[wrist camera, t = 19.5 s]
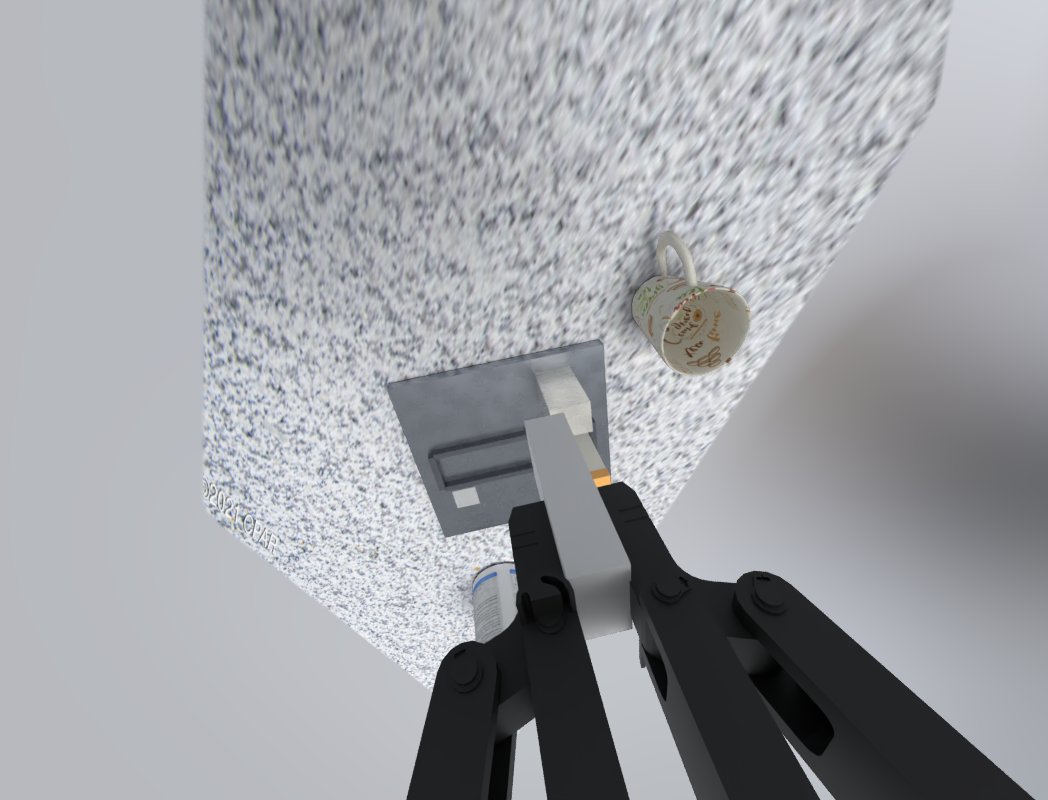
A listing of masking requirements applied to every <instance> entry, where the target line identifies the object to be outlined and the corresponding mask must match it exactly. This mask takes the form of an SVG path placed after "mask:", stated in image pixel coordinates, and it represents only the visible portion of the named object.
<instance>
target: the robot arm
mask: <svg viewBox="0 0 1048 800" xmlns="http://www.w3.org/2000/svg"><path fill="white" fill-rule="evenodd" d="M524 424H525V429H526V434H527V440H528V445H529V450H530V455H531V460H532V465H533V471H534V476H535V480H536V484H537V488H538V491H539V495H540V499H541V501H539V502H534V503H530V504H525V505H521V506H517V507H513V508H512V511H511V515H510V518H509V521H508V524H509V531H510V537H511V544H512V550H513V558H514V564H515V571H516V578H517V584H518V591H517V593H516V608H517V611H518V612H517V614H516V616H515V618H514V620H513V622H512V623H511V624H510V625H509V627H508V628H506V629H505V630H504V631H503V632H501V633H500V634H499V635H497V636H495V637H494V638H492V639H491V640H489V641H488V642H486V643H484V644H483V643H480V642H476V641H469V642H464V643H461V644H459V645H457V646H456V647H454V648H453V649H451V650H450V651H449V653H448V654H447V655H446V656H445V657H444V659H443V660H442V662H441V665H440V667H439V670H438V672H437V676H436V680H435V684H434V688H433V692H432V696H431V700H430V705H429V709H428V713H427V717H426V721H425V725H424V729H423V733H422V737H421V742H420V746H419V750H418V754H417V758H416V762H415V766H414V770H413V775H412V779H411V783H410V787H409V791H408V795H407V800H511V798H512V785H513V774H514V761H515V749H516V737H517V730H519V729H520V728H521V727H523V726H524V725H525V724H527V723H528V722H529V721H531V720H532V719H533V718H535V719H536V726H537V732H538V739H539V746H540V753H541V760H542V766H543V774H544V780H545V786H546V793H547V800H629V796H628V792H627V789H626V785H625V782H624V778H623V774H622V771H621V767H620V764H619V760H618V756H617V753H616V749H615V746H614V742H613V738H612V735H611V731H610V728H609V724H608V720H607V717H606V713H605V710H604V707H603V702H602V699H601V695H600V692H599V688H598V684H597V681H596V677H595V674H594V670H593V666H592V663H591V659H590V656H589V652H588V649H587V645H586V641H585V640H589V639H593V638H597V637H601V636H605V635H609V634H613V633H617V632H621V631H625V630H629V629H632V620H633V623H634V625H635V628H636V630H637V633H638V635H639V657H640V664H641V668H644V667H645V664H646V667H647V670H648V672H649V675H650V678H651V680H652V683H653V685H654V688H655V691H656V693H657V696H658V699H659V701H660V704H661V706H662V709H663V712H664V714H665V717H666V719H667V722H668V725H669V727H670V730H671V732H672V735H673V738H674V740H675V743H676V746H677V748H678V751H679V754H680V756H681V758H682V761H683V764H684V767H685V769H686V772H687V774H688V777H689V780H690V782H691V785H692V788H693V790H694V793H695V795H696V798H697V800H820V798H819V797H818V795H817V793H816V792H815V790H814V788H813V786H812V785H811V783H810V781H809V779H808V778H807V776H806V774H805V772H804V771H803V769H802V767H801V766H800V764H799V762H798V760H797V759H796V757H795V755H794V753H793V752H792V750H791V748H790V747H789V745H788V743H787V741H786V740H785V738H786V739H787V740H788V741H789V742H790V744H791V745H792V746H793V747H794V749H795V750H796V751H797V752H798V754H799V755H800V756H801V757H802V758H803V760H804V761H805V762H806V763H807V765H808V766H809V767H810V768H811V770H812V771H813V772H814V773H815V775H816V776H817V777H818V778H819V780H820V781H821V782H822V783H823V785H824V786H825V787H826V788H827V790H828V791H829V792H830V793H831V794H832V796H833V797H834V798H835V800H1035V799H1033V798H1032V797H1031V796H1030V795H1029V794H1028V793H1027V792H1026V791H1024V790H1023V789H1022V788H1021V787H1020V786H1019V785H1018V784H1017V783H1015V782H1014V781H1013V780H1012V779H1011V778H1010V777H1008V775H1006V774H1005V773H1004V772H1003V771H1002V770H1001V769H1000V768H998V767H997V766H996V765H995V764H994V763H993V762H992V761H991V760H989V759H988V758H987V757H986V756H985V755H984V754H983V753H981V752H980V751H979V750H978V749H977V748H976V747H975V746H974V745H972V744H971V743H970V742H969V741H968V740H967V739H966V738H964V737H963V736H962V735H961V734H960V733H959V732H958V731H957V730H955V729H954V728H953V727H952V726H951V725H950V724H949V723H947V722H946V721H945V720H944V719H943V718H942V717H941V716H939V715H938V714H937V713H936V712H935V711H934V710H933V709H932V708H930V707H929V706H928V705H927V704H926V703H925V702H924V701H922V700H921V699H920V698H919V697H918V696H917V695H916V694H915V693H913V692H912V691H911V690H910V689H909V688H908V687H907V686H905V685H904V684H903V683H902V682H901V681H900V680H898V678H896V677H895V676H894V675H893V674H892V673H891V672H890V671H888V670H887V669H886V668H885V667H884V666H883V665H881V663H879V662H878V661H877V660H876V659H875V658H874V657H873V656H871V655H870V654H869V653H868V652H867V651H866V650H864V649H863V648H862V647H861V646H860V645H859V644H858V643H857V642H855V641H854V640H853V639H852V638H851V637H850V636H849V635H848V634H846V633H845V632H844V631H843V630H842V629H841V628H840V627H838V626H837V625H836V624H835V623H834V622H833V621H832V620H831V619H829V618H828V617H827V616H826V615H825V614H824V613H823V612H822V611H820V610H819V609H818V608H817V607H816V606H815V605H814V604H812V603H811V602H810V601H809V600H808V599H807V598H806V597H805V596H803V595H802V594H801V593H800V592H799V591H798V590H797V589H795V588H794V587H793V586H792V585H791V584H789V583H788V582H786V581H785V580H784V579H782V578H781V577H779V576H776V575H773V574H771V573H768V572H762V571H752V572H748V573H745V574H743V575H742V576H741V577H740V578H739V579H738V580H737V583H727V582H714V581H707V580H701V579H699V578H696V577H693V576H691V575H690V574H688V573H686V572H685V571H683V570H682V569H681V568H680V567H679V566H678V565H677V564H676V563H675V561H674V560H673V558H672V557H671V555H670V553H669V551H668V549H667V548H666V546H665V544H664V542H663V540H662V539H661V537H660V535H659V533H658V531H657V530H656V528H655V526H654V524H653V522H652V521H651V519H650V518H649V515H648V514H647V512H646V510H645V508H644V507H643V505H642V503H641V501H640V499H639V497H638V496H637V494H636V492H635V491H634V490H633V489H631V488H630V487H629V486H628V485H626V484H625V483H624V482H618V483H613V484H609V485H605V486H600V487H596V485H595V482H594V480H593V478H592V476H591V473H590V471H589V469H588V467H587V464H586V462H585V460H584V458H583V455H582V453H581V451H580V449H579V446H578V444H577V442H576V440H575V437H574V435H573V433H572V431H571V428H570V426H569V424H568V422H567V419H566V417H565V415H564V413H558V414H554V415H549V416H545V417H540V418H535V419H531V420H526V421H524ZM783 735H784V736H785V738H784V736H783Z"/></svg>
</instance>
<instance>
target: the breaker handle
mask: <svg viewBox="0 0 1048 800" xmlns="http://www.w3.org/2000/svg"><path fill="white" fill-rule="evenodd" d="M574 437H575V440H576V442H577V444H578V446H579V449H580V451H581V453H582V455H583V458H584V460H585V462H586V464H587V467H588V469H589V471H590V473H591V476H592V478H593V480H594V482H595V485H596V487H600V486H605V485H609V484H611V480H610V474H609V472H608V470H607V468H606V467H605V465H604V463H603V461H602V459H601V457H600V456H599V454H598V452H597V450H596V448H595V446H594V444H593V442H592V440H591V438H590V436H589V434H588V433H584V434H579V435H575V436H574Z"/></svg>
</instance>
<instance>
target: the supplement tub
mask: <svg viewBox="0 0 1048 800" xmlns="http://www.w3.org/2000/svg"><path fill="white" fill-rule="evenodd" d="M517 591H518V584H517V578H516V571H515V564H511V563H504V564H498V565H494V566H492V567H490V568H487V569H485V570H484V571H482V572H481V573H480V574H479V575H478V576H477V578H476V579H475V581H474V584H473V605H474V622H475V639H476V642H480V643H483V644H484V643H486V642H488V641H489V640H491V639H492V638H494V637H495V636H497V635H499V634H500V633H501V632H503V631H504V630H505V629H506V628H508V627H509V625H510V624H511V623H512V622H513V620H514V618H515V616H516V614H517V612H518V611H517V608H516V593H517Z"/></svg>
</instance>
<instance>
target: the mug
mask: <svg viewBox="0 0 1048 800" xmlns="http://www.w3.org/2000/svg"><path fill="white" fill-rule="evenodd" d="M667 245H671V246H672V247H673V248H674V249H675V251H676V252H677V254H678V255H679V257H680V259H681V261H682V264H683V268H684V274H685V279H684V278H679V277H674V276H668V275H667V265H666V246H667ZM656 256H657V261H658V265H659V268H660V272H661V275H660V276H656V277H653V278H651V279H649V280H647V281H646V282H645V283H643V284H642V285H641V286H640V288H639V289H638V290H637V292H636V294H635V296H634V298H633V302H632V314H633V317H634V319H635V321H636V323H637V324H638V325H639V327H640V328H641V330H642V331H643V333H644V334H645V335H646V337H647V338H648V340H649V341H650V342H651V344H652V345H653V347H654V348H655V350H656V351H657V352H658V354H659V355H660V357H661V358H662V359H663V361H664V362H665V363H666V364H667V366H668V367H670V368H671V369H672V370H673V371H675V372H677V373H679V374H682V375H685V376H702V375H706V374H709V373H712V372H714V371H716V370H718V369H720V368H721V367H723V366H724V365H726V364H727V363H728V362H729V361H730V360H732V359H733V358H734V357H735V355H736V354H737V353H738V352H739V351H740V349H741V348H742V346H743V344H744V343H745V341H746V339H747V336H748V333H749V330H750V325H751V313H750V309H749V306H748V304H747V302H746V300H745V299H744V298H743V297H742V296H741V295H740V294H739V293H738V292H736V291H734V290H732V289H730V288H727V287H723V286H719V285H714V284H709V283H704V282H699V281H697V279H696V273H695V267H694V262H693V259H692V256H691V253H690V251H689V249H688V248H687V246H686V244H685V243H684V241H683V240H682V239H681V238H680V237H679V236H678V235H677V234H676V233H674V232H672V231H664V232H663V233H662V234H661V235H660V237H659V239H658V244H657V251H656Z"/></svg>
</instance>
